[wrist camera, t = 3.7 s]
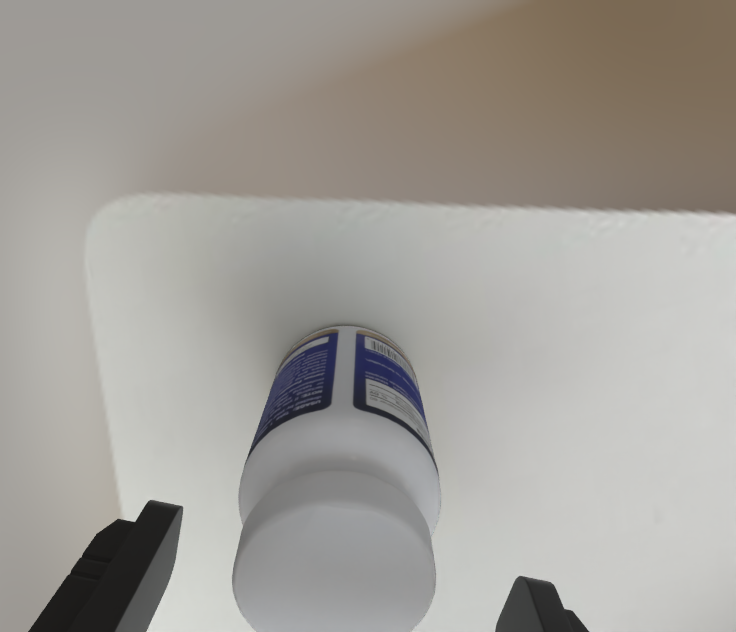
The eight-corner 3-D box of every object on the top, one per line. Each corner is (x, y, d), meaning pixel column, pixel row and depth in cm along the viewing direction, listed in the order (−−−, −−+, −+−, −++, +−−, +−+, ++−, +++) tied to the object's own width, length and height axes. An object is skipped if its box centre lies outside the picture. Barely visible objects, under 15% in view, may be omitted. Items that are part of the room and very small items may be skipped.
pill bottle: (283, 450, 22) (223, 684, 13) (269, 324, 20) (185, 487, 11) (418, 445, 22) (458, 674, 13) (417, 318, 20) (461, 476, 11)
